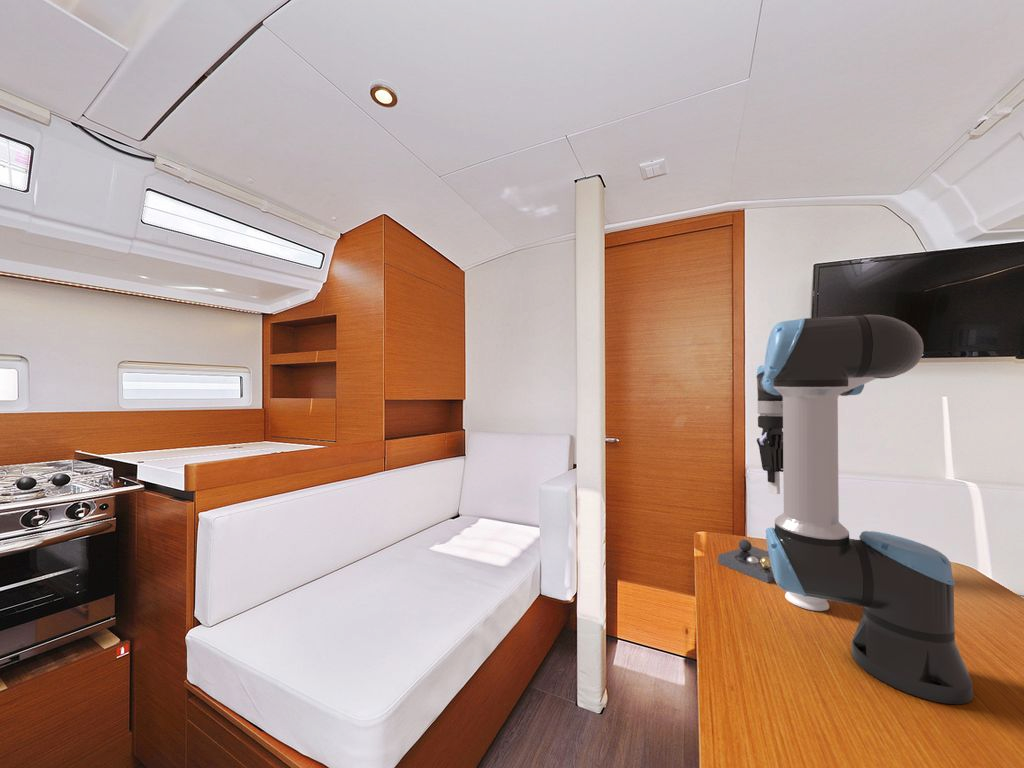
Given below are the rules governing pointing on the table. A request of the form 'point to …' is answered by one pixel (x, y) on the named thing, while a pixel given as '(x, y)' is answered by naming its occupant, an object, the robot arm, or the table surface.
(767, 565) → the brass ball
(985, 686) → the table surface
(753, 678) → the table surface
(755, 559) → the ball
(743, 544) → the black ball
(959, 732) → the table surface
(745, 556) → the plate
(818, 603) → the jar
